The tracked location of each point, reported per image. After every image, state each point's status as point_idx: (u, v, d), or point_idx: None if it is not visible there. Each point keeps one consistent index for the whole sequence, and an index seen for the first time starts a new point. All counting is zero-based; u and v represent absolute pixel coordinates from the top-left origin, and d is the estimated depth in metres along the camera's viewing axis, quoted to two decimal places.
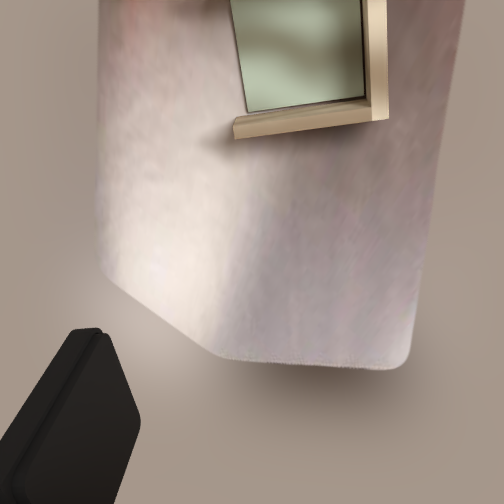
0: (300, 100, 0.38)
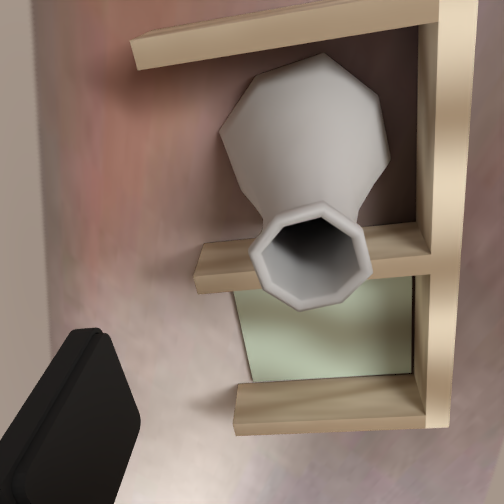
0: (324, 373, 0.28)
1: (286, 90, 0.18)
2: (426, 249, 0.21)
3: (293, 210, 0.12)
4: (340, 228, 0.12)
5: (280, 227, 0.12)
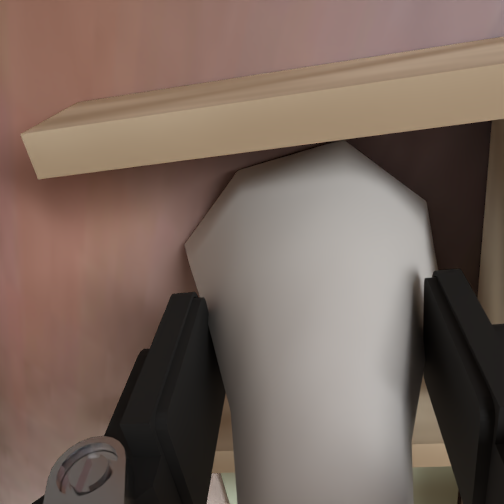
0: None
1: (283, 203, 0.11)
2: None
3: None
4: None
5: None
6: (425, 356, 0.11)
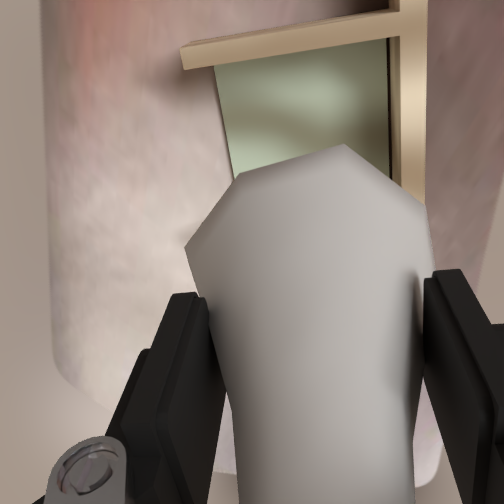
0: None
1: (284, 205, 0.12)
2: (396, 11, 0.22)
3: None
4: None
5: None
6: (425, 356, 0.11)
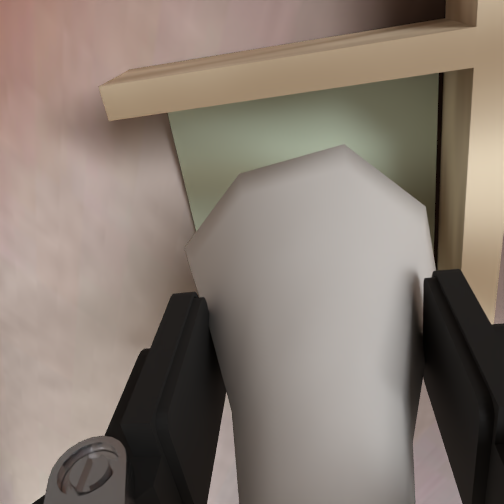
0: None
1: (285, 205, 0.12)
2: (467, 26, 0.13)
3: None
4: None
5: None
6: (424, 356, 0.11)
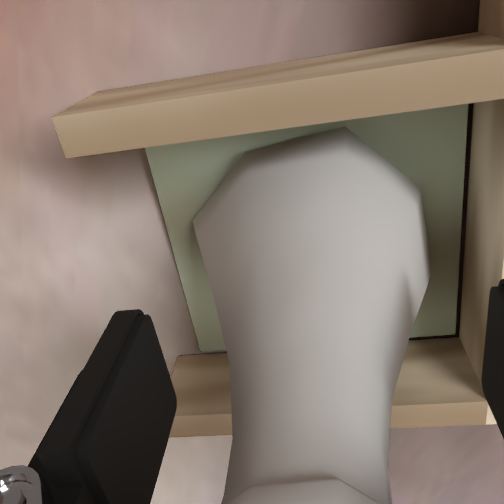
0: None
1: (286, 182, 0.12)
2: None
3: (279, 501, 0.06)
4: None
5: None
6: (487, 368, 0.10)
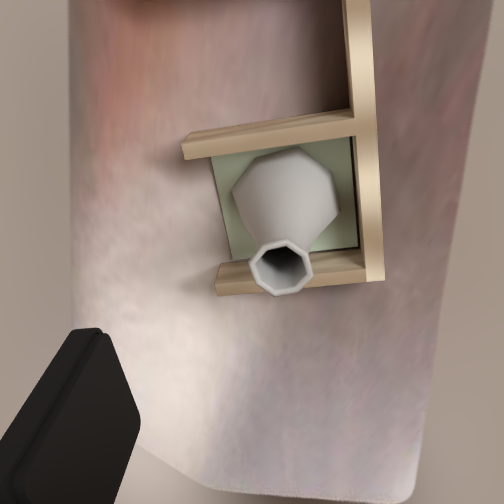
0: None
1: (273, 168, 0.30)
2: (352, 116, 0.28)
3: (272, 242, 0.24)
4: (295, 251, 0.24)
5: (265, 250, 0.24)
6: None
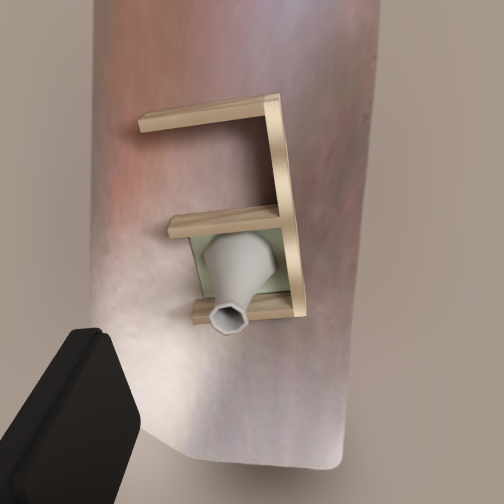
0: None
1: (229, 243, 0.45)
2: (279, 215, 0.43)
3: (222, 303, 0.39)
4: (236, 310, 0.39)
5: (218, 308, 0.39)
6: None
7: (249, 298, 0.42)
